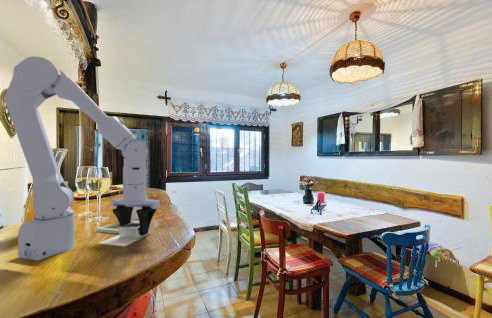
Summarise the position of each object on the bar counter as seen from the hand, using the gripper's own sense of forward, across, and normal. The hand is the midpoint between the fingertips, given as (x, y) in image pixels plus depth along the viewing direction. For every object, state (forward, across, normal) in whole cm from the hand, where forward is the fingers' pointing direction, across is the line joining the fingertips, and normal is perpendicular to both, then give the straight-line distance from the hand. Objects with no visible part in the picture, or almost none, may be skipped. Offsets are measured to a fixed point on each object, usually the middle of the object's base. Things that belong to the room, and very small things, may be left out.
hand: (135, 233), depth 63 cm
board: (+2, +1, +3) cm, 4 cm away
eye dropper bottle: (+2, +14, -14) cm, 20 cm away
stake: (+1, 0, 0) cm, 1 cm away
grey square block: (+1, 0, 0) cm, 1 cm away
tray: (+2, +9, -6) cm, 11 cm away
